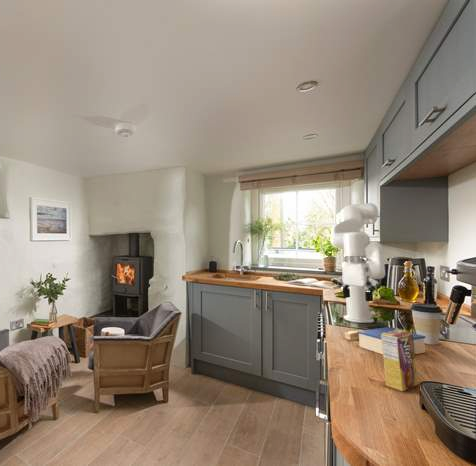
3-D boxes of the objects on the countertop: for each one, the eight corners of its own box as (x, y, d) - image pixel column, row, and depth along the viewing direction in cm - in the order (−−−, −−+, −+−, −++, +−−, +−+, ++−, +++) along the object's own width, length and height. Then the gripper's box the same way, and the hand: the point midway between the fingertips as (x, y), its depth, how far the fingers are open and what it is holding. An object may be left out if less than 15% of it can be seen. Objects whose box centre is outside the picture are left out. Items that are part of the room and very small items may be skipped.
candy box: (400, 378, 89) (396, 328, 89) (418, 384, 85) (414, 332, 85) (383, 385, 85) (380, 332, 86) (402, 391, 81) (398, 336, 82)
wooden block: (368, 334, 131) (368, 328, 131) (379, 337, 126) (378, 330, 126) (342, 338, 127) (342, 331, 127) (352, 341, 123) (352, 334, 123)
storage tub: (388, 341, 120) (387, 327, 121) (426, 352, 108) (425, 336, 108) (358, 346, 116) (357, 331, 116) (393, 358, 104) (392, 341, 104)
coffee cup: (412, 342, 119) (409, 305, 119) (412, 337, 125) (409, 302, 126) (446, 348, 112) (443, 308, 113) (444, 341, 119) (441, 304, 119)
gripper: (383, 260, 120) (385, 302, 119) (342, 259, 137) (345, 295, 136) (369, 261, 119) (372, 303, 118) (330, 259, 135) (332, 296, 134)
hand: (357, 299), depth 127 cm, fingers open, 9 cm apart
